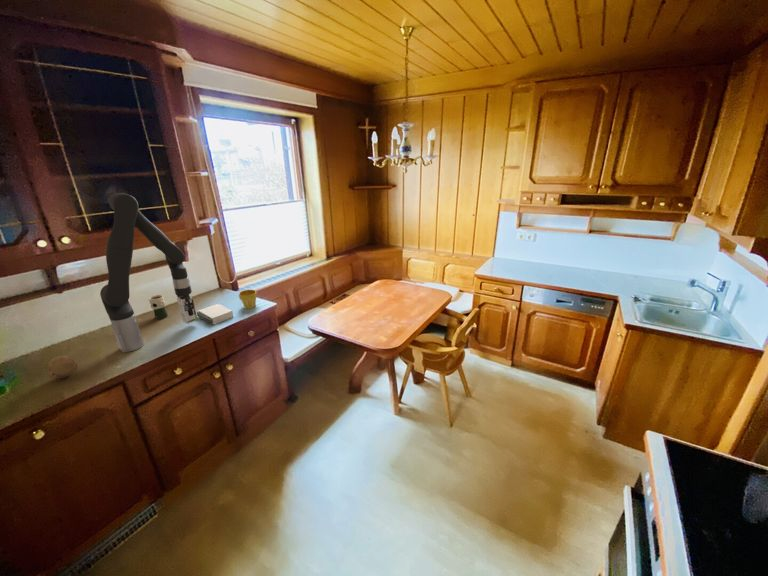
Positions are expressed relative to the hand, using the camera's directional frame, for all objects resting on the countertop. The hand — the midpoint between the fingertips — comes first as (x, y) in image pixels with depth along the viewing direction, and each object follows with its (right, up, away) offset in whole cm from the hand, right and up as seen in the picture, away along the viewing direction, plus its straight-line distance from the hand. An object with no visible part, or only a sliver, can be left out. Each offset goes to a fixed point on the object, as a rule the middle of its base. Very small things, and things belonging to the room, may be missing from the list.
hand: (188, 313), depth 175 cm
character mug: (-24, -3, +12) cm, 27 cm away
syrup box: (0, -4, +2) cm, 5 cm away
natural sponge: (-28, -24, -39) cm, 54 cm away
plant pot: (+23, +2, +27) cm, 35 cm away
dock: (+8, -3, +14) cm, 16 cm away
